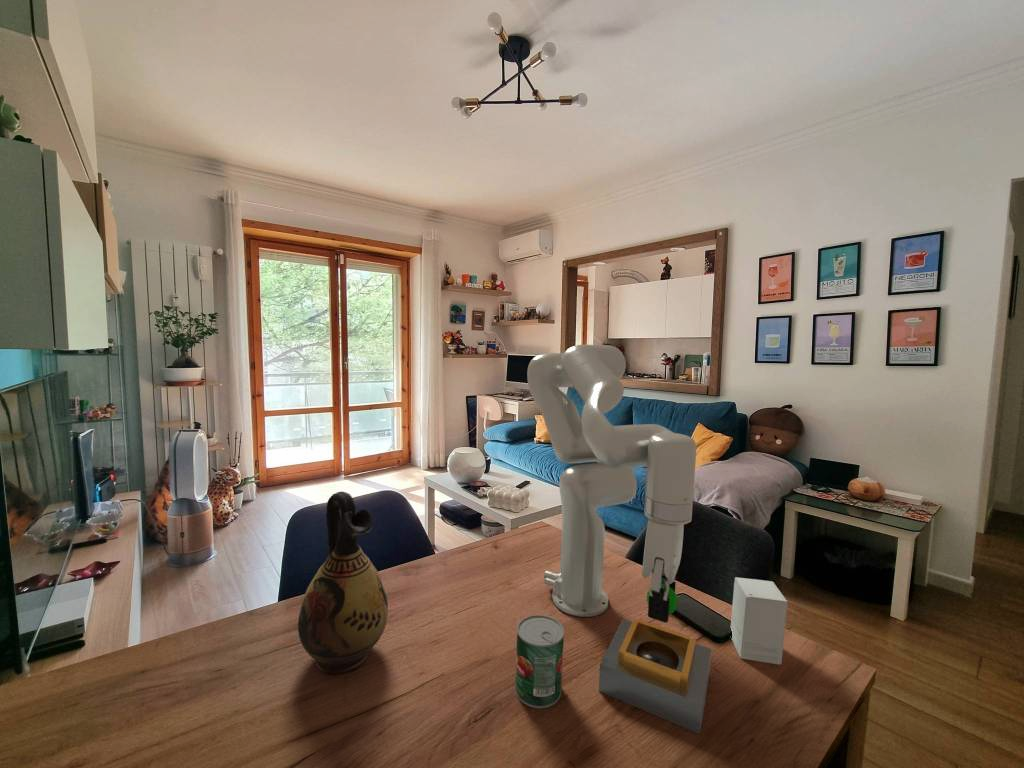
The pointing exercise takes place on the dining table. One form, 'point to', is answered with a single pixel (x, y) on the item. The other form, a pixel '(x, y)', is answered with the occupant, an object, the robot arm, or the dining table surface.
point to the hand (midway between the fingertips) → (661, 609)
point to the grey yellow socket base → (657, 672)
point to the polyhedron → (671, 596)
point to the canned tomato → (539, 661)
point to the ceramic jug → (343, 595)
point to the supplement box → (758, 620)
